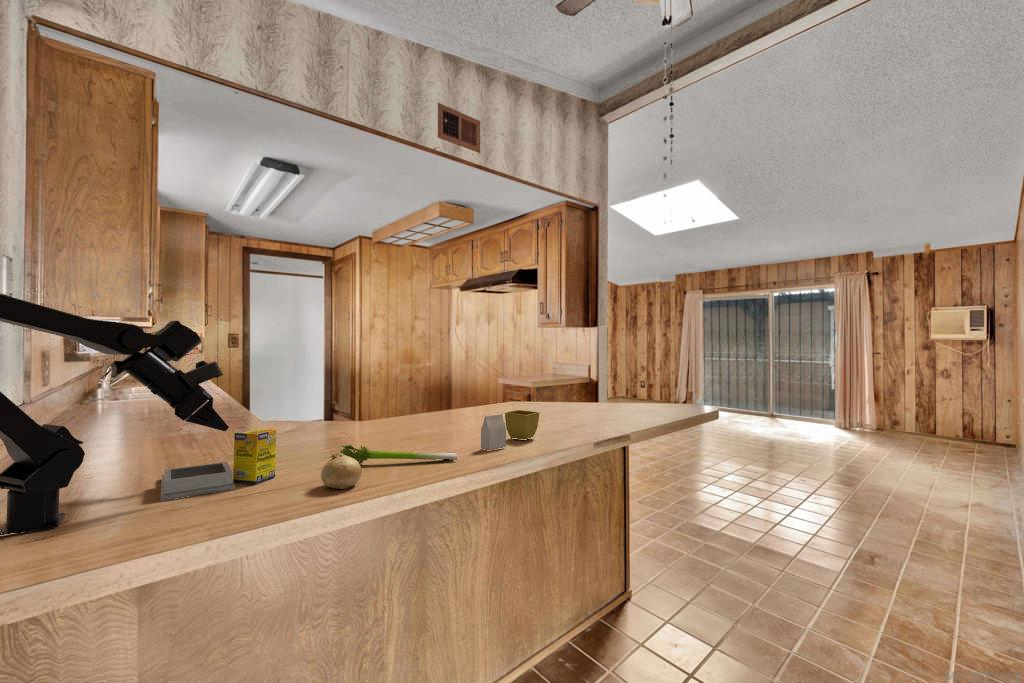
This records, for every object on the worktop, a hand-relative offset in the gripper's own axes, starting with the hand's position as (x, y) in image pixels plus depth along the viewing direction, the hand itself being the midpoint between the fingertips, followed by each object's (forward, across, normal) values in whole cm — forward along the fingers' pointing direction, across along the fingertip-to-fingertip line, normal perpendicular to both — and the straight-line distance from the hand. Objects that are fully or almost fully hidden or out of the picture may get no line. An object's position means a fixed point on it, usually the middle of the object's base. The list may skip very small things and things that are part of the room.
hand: (224, 426), depth 93 cm
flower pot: (+68, 0, -49) cm, 84 cm away
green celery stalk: (+36, -5, -17) cm, 40 cm away
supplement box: (+13, 0, +5) cm, 14 cm away
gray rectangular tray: (+6, +4, +12) cm, 14 cm away
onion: (+23, -16, -5) cm, 28 cm away
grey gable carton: (+56, -6, -38) cm, 68 cm away
